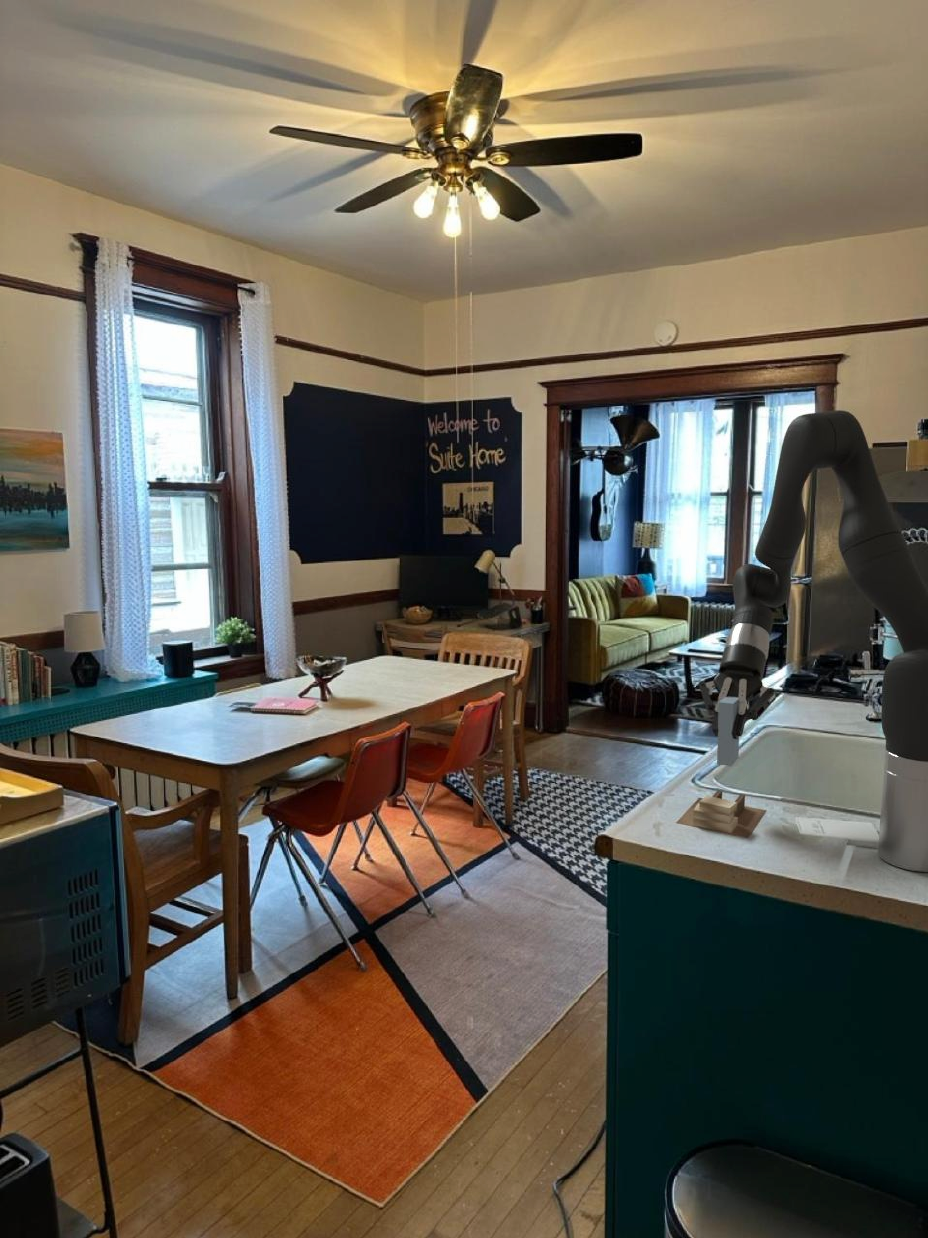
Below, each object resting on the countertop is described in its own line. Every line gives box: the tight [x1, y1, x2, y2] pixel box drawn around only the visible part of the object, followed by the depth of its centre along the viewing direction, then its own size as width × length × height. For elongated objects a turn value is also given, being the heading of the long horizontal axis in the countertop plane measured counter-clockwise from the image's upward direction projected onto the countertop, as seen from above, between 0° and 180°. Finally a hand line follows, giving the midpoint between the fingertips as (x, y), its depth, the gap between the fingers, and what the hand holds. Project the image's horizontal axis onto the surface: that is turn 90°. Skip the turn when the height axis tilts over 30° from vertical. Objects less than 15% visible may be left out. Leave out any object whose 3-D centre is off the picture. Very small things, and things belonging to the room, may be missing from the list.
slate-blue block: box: [716, 696, 740, 767], centre depth 140 cm, size 2×5×11 cm, turn 148°
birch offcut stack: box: [693, 795, 738, 833], centre depth 136 cm, size 7×4×4 cm, turn 58°
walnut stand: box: [675, 789, 767, 839], centre depth 140 cm, size 12×14×4 cm
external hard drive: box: [794, 816, 879, 849], centre depth 135 cm, size 2×8×12 cm
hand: (725, 735), depth 138 cm, fingers closed on slate-blue block, 2 cm apart
